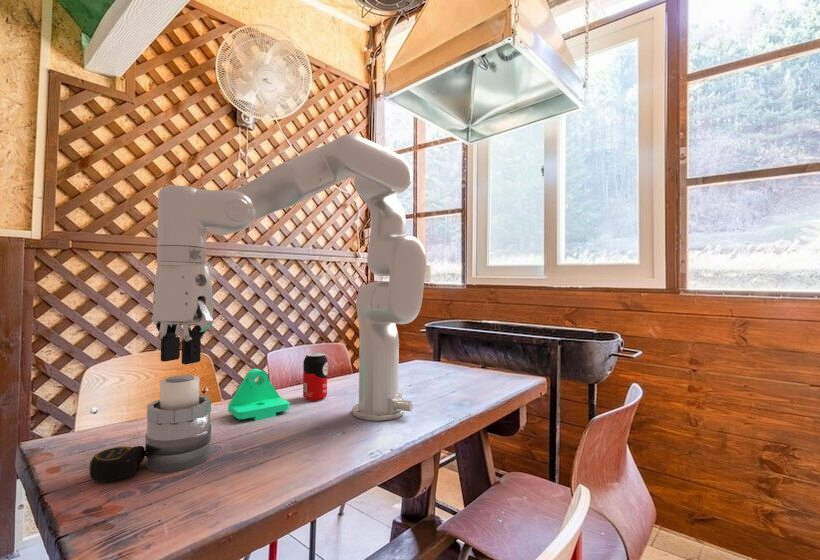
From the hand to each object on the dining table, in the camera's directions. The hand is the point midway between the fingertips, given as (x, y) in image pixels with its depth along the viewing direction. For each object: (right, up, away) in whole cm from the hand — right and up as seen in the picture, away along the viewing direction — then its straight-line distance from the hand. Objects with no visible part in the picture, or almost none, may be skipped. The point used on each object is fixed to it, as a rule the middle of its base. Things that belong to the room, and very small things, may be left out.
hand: (180, 360), depth 71 cm
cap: (0, -9, 0) cm, 9 cm away
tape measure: (-6, -18, -5) cm, 20 cm away
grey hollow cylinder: (0, -17, 0) cm, 17 cm away
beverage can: (+15, -18, +38) cm, 45 cm away
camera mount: (+5, -18, +25) cm, 31 cm away
